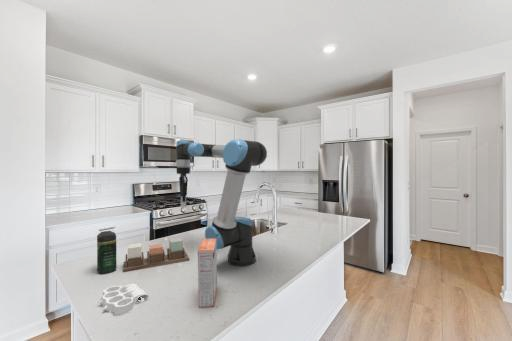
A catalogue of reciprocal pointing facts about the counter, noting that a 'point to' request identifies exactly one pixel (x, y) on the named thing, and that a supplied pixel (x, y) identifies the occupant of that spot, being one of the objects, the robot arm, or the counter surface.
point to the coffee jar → (106, 252)
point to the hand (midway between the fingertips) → (183, 206)
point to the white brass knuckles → (121, 298)
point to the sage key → (175, 244)
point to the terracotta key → (155, 249)
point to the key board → (154, 260)
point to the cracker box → (207, 272)
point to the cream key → (134, 250)
